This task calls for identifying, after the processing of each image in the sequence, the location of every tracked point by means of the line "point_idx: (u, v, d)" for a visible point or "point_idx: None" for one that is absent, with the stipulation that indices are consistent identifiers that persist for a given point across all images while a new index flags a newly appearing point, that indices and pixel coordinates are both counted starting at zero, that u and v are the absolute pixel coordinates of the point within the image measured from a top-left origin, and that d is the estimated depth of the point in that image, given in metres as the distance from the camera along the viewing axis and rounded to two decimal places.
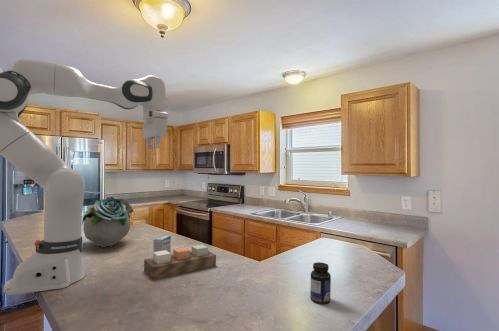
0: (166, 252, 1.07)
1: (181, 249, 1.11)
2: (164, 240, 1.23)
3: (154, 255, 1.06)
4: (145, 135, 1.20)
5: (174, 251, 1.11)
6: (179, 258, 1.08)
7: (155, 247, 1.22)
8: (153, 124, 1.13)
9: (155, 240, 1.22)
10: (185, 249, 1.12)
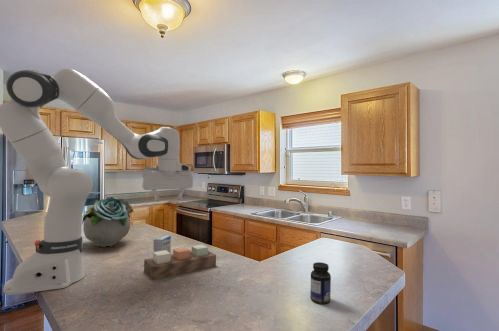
0: (166, 252, 1.07)
1: (181, 249, 1.11)
2: (164, 240, 1.23)
3: (154, 255, 1.06)
4: (157, 186, 1.11)
5: (174, 251, 1.11)
6: (179, 258, 1.08)
7: (155, 247, 1.22)
8: (179, 177, 1.16)
9: (155, 240, 1.22)
10: (185, 249, 1.12)
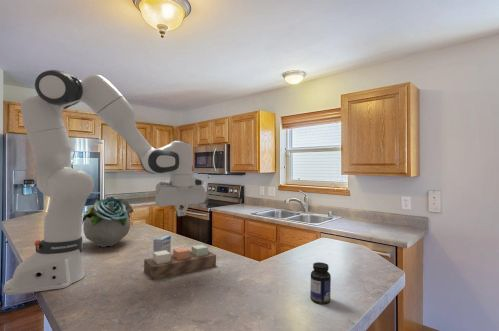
0: (166, 252, 1.07)
1: (181, 249, 1.11)
2: (164, 240, 1.23)
3: (154, 255, 1.06)
4: (171, 202, 1.08)
5: (174, 251, 1.11)
6: (179, 258, 1.08)
7: (155, 247, 1.22)
8: (192, 191, 1.14)
9: (155, 240, 1.22)
10: (185, 249, 1.12)
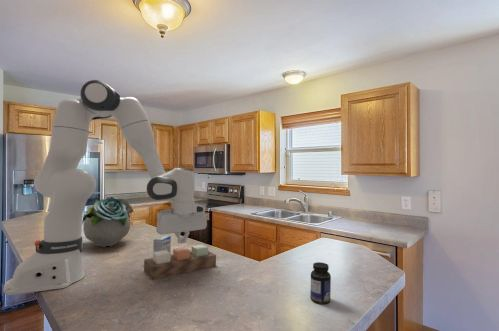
0: (166, 252, 1.07)
1: (181, 249, 1.11)
2: (164, 240, 1.23)
3: (154, 255, 1.06)
4: (172, 230, 1.07)
5: (174, 251, 1.11)
6: (179, 258, 1.08)
7: (155, 247, 1.22)
8: (194, 218, 1.13)
9: (155, 240, 1.22)
10: (185, 249, 1.12)
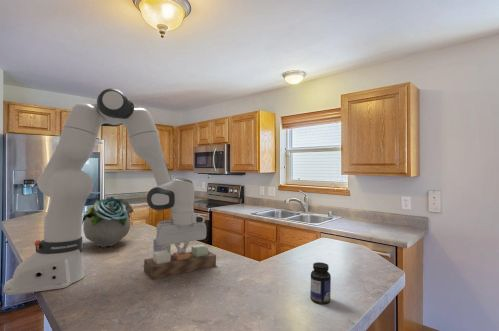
0: (166, 252, 1.07)
1: None
2: None
3: (154, 255, 1.06)
4: (171, 241, 1.07)
5: (174, 255, 1.11)
6: None
7: (155, 247, 1.22)
8: (193, 228, 1.13)
9: (155, 240, 1.22)
10: (185, 253, 1.12)
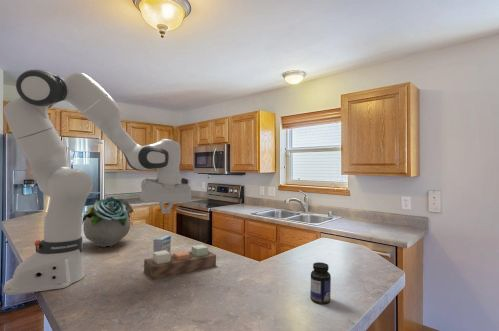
0: (166, 252, 1.07)
1: (181, 253, 1.11)
2: (164, 240, 1.23)
3: (154, 255, 1.06)
4: (155, 199, 1.09)
5: (174, 255, 1.11)
6: None
7: (155, 247, 1.22)
8: (178, 190, 1.15)
9: (155, 240, 1.22)
10: (185, 253, 1.12)
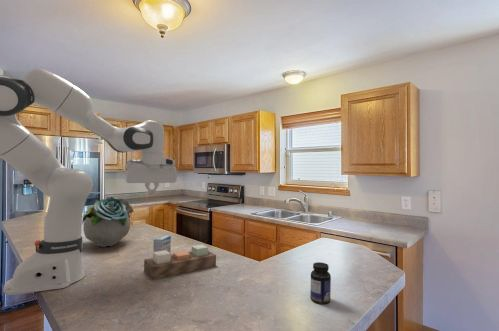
0: (166, 252, 1.07)
1: (181, 253, 1.11)
2: (164, 240, 1.23)
3: (154, 255, 1.06)
4: (140, 180, 1.11)
5: (174, 255, 1.11)
6: None
7: (155, 247, 1.22)
8: (163, 171, 1.17)
9: (155, 240, 1.22)
10: (185, 253, 1.12)
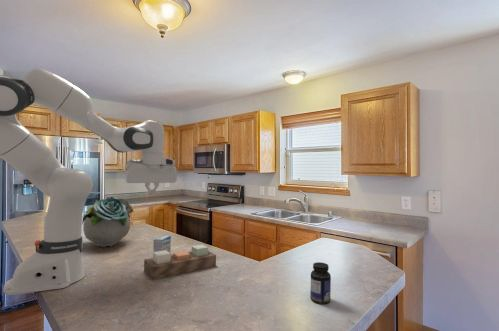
0: (166, 252, 1.07)
1: (181, 253, 1.11)
2: (164, 240, 1.23)
3: (154, 255, 1.06)
4: (140, 180, 1.11)
5: (174, 255, 1.11)
6: None
7: (155, 247, 1.22)
8: (163, 171, 1.17)
9: (155, 240, 1.22)
10: (185, 253, 1.12)
